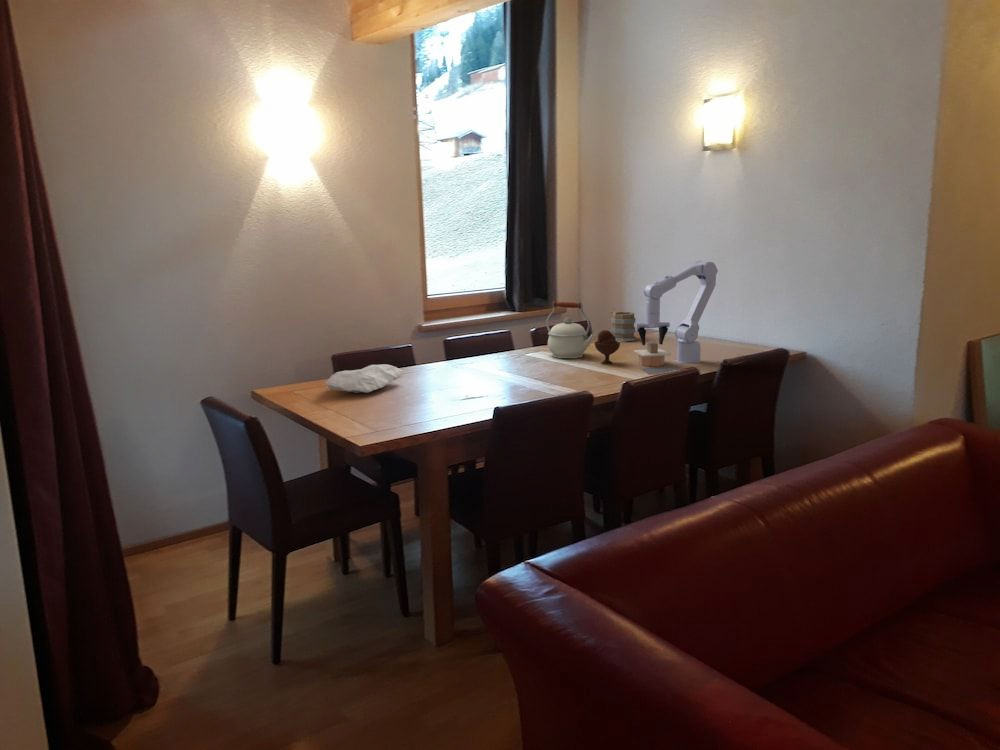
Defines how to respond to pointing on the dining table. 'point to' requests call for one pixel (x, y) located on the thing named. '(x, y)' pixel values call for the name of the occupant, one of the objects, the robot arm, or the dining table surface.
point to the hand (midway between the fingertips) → (652, 344)
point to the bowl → (651, 360)
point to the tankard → (623, 326)
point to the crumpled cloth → (364, 378)
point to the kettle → (568, 335)
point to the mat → (659, 370)
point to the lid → (652, 350)
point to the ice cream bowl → (606, 345)
